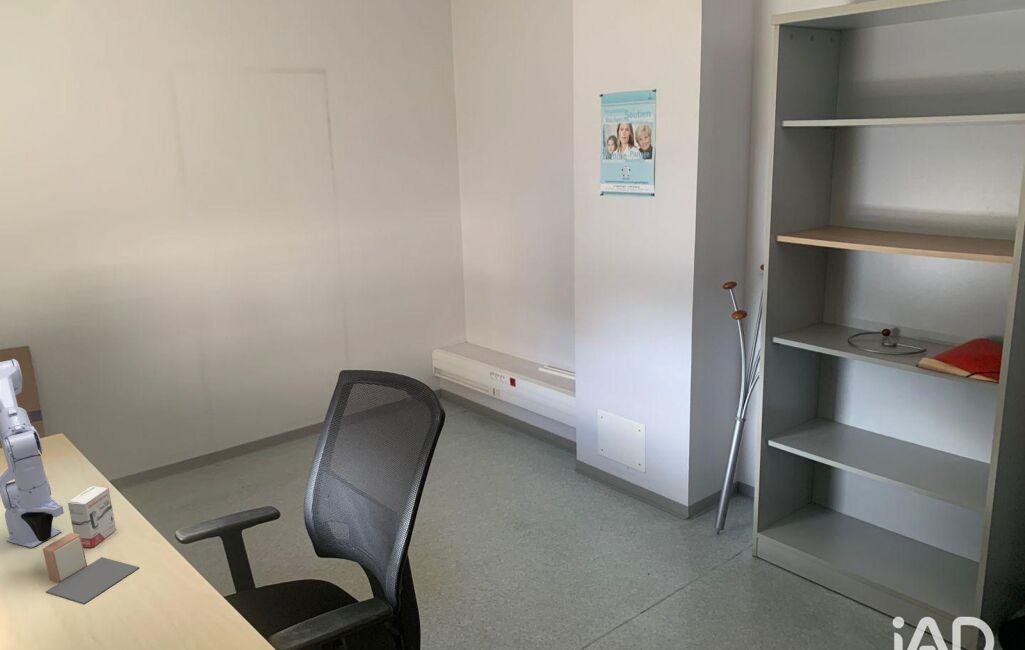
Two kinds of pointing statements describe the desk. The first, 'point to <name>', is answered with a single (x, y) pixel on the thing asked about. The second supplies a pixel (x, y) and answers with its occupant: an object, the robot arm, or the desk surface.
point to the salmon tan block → (64, 557)
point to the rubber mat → (92, 580)
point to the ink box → (92, 515)
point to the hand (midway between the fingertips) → (44, 539)
